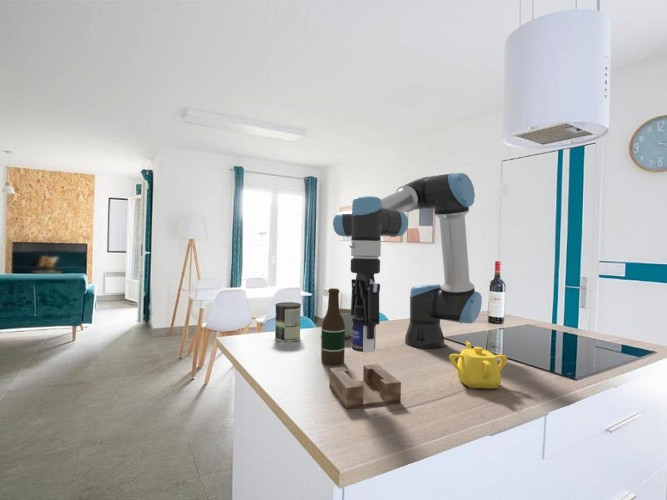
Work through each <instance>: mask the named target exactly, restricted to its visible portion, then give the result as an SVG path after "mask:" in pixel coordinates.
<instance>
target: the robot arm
mask: <svg viewBox="0 0 667 500" xmlns="http://www.w3.org/2000/svg"><path fill="white" fill-rule="evenodd" d="M475 197H476V194H475V188H474V184H473V181H472V180H471V178H470V177H469V175H468V174H466V173H463V172H455V173H453V172H451V173H447V174H439V175H431V176H424V177H421V178H417V179H415V180H413V181H411V182H408V183H406V184H404V185H401V186H399V187H398V188H397V189H396V190H395V192H392V193H390V194H387V195H385V196H383V197H381V198H380V197H376V196H369V195H368V196H357V197H355V198H354V199H353V200H352V206H351V207H352V208H351V210H349V211H348V210H345V211H342V212H338V213H336V214H335V215H334V217H333V220H332V227H333V231H334V232H335V234H336V235H338V236H340V237H347V238H350V237H351V239H350V240H351V242H350V244H349V249H350V252H351V253H350V255H351V256H352V257H353V258H351V259H350V272H351V273H352V274H356V276H355V278H352V279H351V280H350V281H351V301H350V302H351V303H350V309H351V316H354V315H356V311H355V306H357V305H364V315H365V323H364V324H363V326H364V327H363V352H362V353H371V352H372V353H374V352H375V350H374V340H375V341H376V338H375V326H377V325H380V292H381V291H380V290H381V284H380V283H376V280H375V275H377V274H380V271H381V260H380V258H379V257H381V253H382V250H381V249H382V248H381V246H382V241H381V240H382V239H381V237H390V238H395V237H400V236H403V235H404V234H405V233H406V232H407V230H408V227H409V219H408V216H407V215H406V213H411V212H413V211H415V210H429V209H430V210H432V209H433V211H434V215H435V216H436V217H437V218H438V219H439V228H440V229H439V230H440V239H441V240H440V241H441V243H440V244H441V252H442V265H443V275H444V283H443V284H442V285H441V284H424V285H415V286H413V287H410V288H411V289H410V294H409V324H408V328H407V331H406V333H405V335H404V336H405V337H404V342H405V344H406V345H409V346H411V347H414V348H415V347H416V348H421V349H422V348H423V349H437V348H438V349H439V348H442V347H444V346H445V343H446V342H445V340H446V339H445V336H444V334H443V331H442V329H443V328H442V326H441V320H442V321H448V322H455V323H459V324H469V325H470V324H473V323H476V321H477V319H478V317H479V315H480V313H481V310H482V305H483V303H482V302H483V298H482V295H481V293H480V292H478V291H475V290H476V289H475V285H474V283H472V282H471V280H470V271H469V269H470V268H469V259H468V258H469V257H468V241H467V240H468V239H467V228H466V216H467V214H468V213H469V211H470V207H472V206H473V205H474V202H475Z"/></svg>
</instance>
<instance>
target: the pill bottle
mask: <svg viewBox="0 0 667 500" xmlns="http://www.w3.org/2000/svg"><path fill="white" fill-rule="evenodd" d="M355 311H356V315H354V316H353V317H352V335H351V350H353V351H355V352H359V353H364V352H363V327H364V326H363V324H364V323H365V315H364V305H357V306H355ZM376 326H377V325H376ZM376 326H375V340H374V351H375V350H376V335H377V334H376V333H377V330H376V329H377V327H376Z"/></svg>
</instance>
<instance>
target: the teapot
mask: <svg viewBox="0 0 667 500" xmlns="http://www.w3.org/2000/svg"><path fill="white" fill-rule="evenodd" d="M465 345H466V346H465V347H466V348H463V349H461V352H460V353H450V354H449V356H448V357H449V360H450V364H452V366H453V367H454V369H456V375H457V377H458V379H459V380H460V382H461V383H462V384H464V385H465V386H466V387H468V388H469V389H488V390H493V389H498V388H499V387H500V385H501V382H502V375H501V371H502V370H503V368H504V367H505V366H506V364H507V362H508V357H507V355H505V354H494V353H492V352H491V351H490V350H489V351H488V350H487V349H484V348H483V347H481V346H474V347H473V346H472V345H471V342H470V341H468V340H465ZM472 347H473V348H472ZM456 358H458V360H457V362H456ZM498 359H500V362H499V363H498Z"/></svg>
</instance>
